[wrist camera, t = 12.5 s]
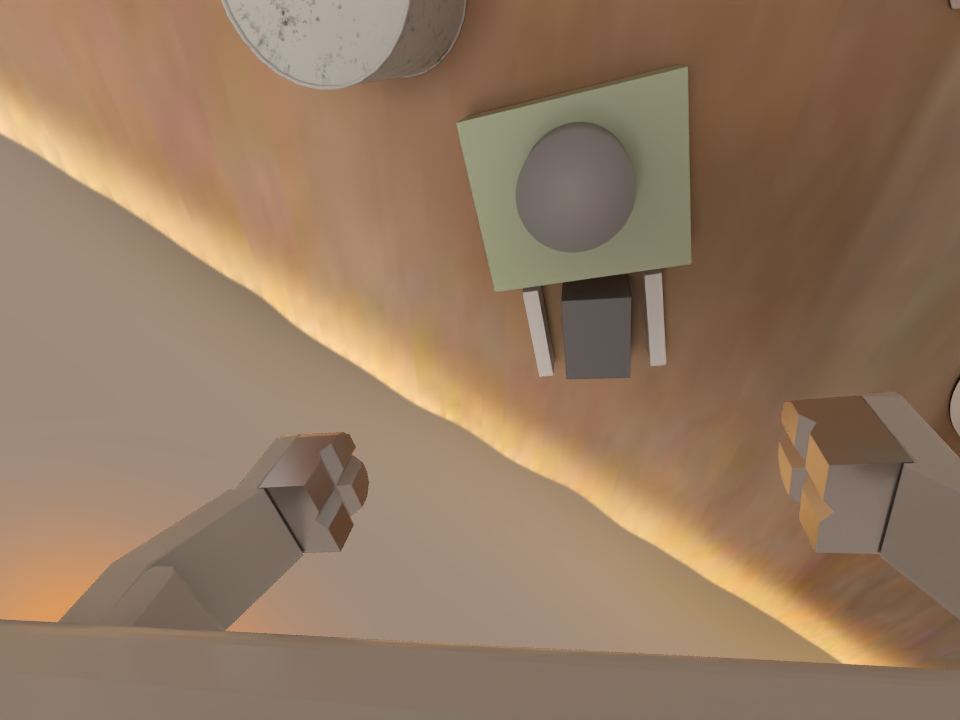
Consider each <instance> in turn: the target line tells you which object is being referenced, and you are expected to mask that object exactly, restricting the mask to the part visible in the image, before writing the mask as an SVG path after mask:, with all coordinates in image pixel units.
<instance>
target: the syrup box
mask: <svg viewBox="0 0 960 720" xmlns="http://www.w3.org/2000/svg"><path fill="white" fill-rule="evenodd" d="M950 4H951V8H952V9H959V8H960V0H950Z"/></svg>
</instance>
